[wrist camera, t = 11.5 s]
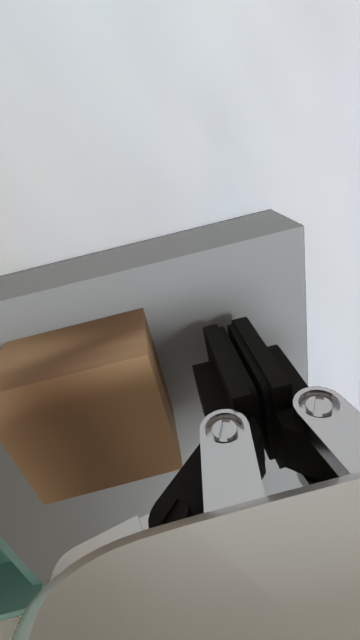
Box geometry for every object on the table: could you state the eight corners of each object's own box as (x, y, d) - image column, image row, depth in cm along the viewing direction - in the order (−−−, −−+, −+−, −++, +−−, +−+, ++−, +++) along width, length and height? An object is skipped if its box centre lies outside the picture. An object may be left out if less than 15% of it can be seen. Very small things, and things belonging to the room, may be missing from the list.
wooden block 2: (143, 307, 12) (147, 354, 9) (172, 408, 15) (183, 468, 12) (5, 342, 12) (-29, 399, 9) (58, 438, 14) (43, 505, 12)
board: (271, 209, 14) (303, 225, 11) (289, 469, 22) (311, 513, 20) (-110, 303, 14) (-166, 342, 11) (52, 531, 22) (42, 585, 19)
